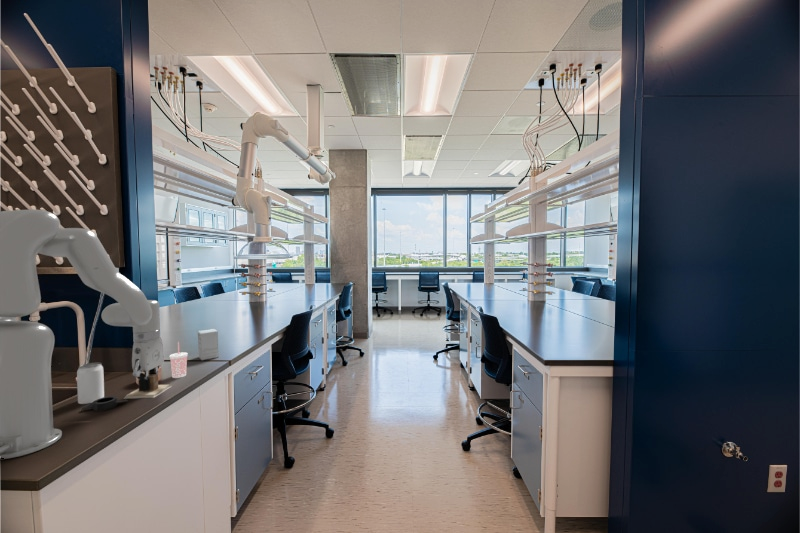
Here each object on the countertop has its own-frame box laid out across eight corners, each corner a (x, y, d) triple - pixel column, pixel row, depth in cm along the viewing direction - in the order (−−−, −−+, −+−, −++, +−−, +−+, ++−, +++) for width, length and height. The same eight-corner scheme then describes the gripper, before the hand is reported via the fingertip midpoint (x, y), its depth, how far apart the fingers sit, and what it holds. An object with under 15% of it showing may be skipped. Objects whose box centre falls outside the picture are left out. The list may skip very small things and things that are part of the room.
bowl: (152, 385, 125) (152, 372, 125) (131, 386, 125) (130, 372, 125) (165, 378, 133) (165, 365, 133) (145, 378, 132) (145, 366, 132)
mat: (154, 398, 114) (154, 397, 114) (123, 399, 113) (123, 398, 113) (172, 387, 124) (172, 386, 124) (143, 388, 123) (143, 386, 123)
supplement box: (215, 354, 165) (214, 328, 165) (218, 357, 160) (218, 330, 159) (198, 357, 161) (197, 330, 160) (200, 360, 155) (200, 333, 155)
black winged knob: (101, 403, 111) (100, 394, 111) (130, 403, 111) (130, 395, 110) (78, 414, 103) (77, 405, 103) (109, 414, 103) (109, 405, 103)
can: (88, 405, 109) (87, 368, 108) (72, 404, 110) (71, 367, 109) (109, 397, 115) (108, 362, 114) (94, 396, 116) (93, 361, 116)
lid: (153, 396, 114) (153, 379, 114) (125, 397, 114) (125, 380, 113) (170, 386, 123) (169, 370, 123) (144, 387, 123) (143, 371, 122)
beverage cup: (167, 380, 131) (166, 344, 130) (173, 374, 137) (172, 340, 136) (185, 378, 132) (184, 343, 132) (190, 373, 138) (189, 339, 138)
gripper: (141, 341, 110) (143, 397, 110) (172, 330, 126) (173, 379, 127) (117, 342, 109) (119, 398, 110) (151, 330, 126) (152, 379, 126)
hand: (148, 387), depth 118 cm, fingers open, 3 cm apart
